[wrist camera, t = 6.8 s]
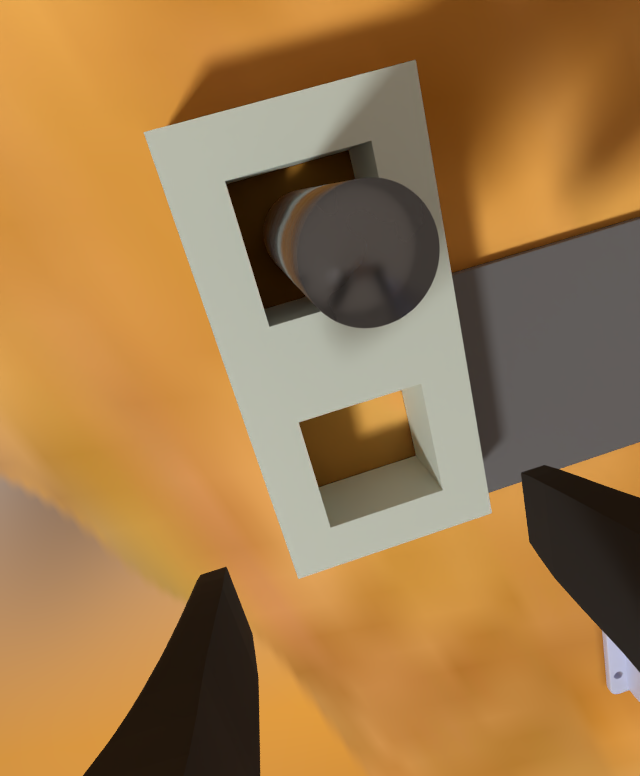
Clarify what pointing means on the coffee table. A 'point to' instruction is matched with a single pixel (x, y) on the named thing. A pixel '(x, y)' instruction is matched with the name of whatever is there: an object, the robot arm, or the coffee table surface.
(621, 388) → the rubber mat
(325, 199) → the steel peg
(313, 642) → the coffee table surface
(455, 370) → the socket block
